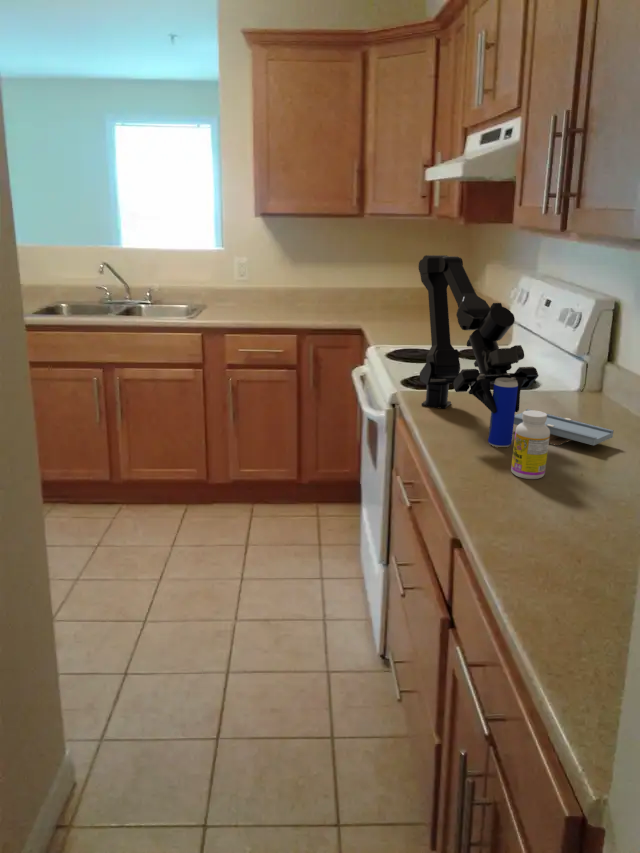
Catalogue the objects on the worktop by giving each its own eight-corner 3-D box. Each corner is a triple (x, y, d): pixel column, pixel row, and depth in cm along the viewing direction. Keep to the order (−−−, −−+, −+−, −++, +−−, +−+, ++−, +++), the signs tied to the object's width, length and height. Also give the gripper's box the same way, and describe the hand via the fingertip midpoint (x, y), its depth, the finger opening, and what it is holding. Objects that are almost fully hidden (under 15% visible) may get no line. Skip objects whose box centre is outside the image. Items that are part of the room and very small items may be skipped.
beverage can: (494, 439, 172) (500, 376, 168) (515, 444, 169) (522, 380, 165) (483, 444, 168) (490, 379, 164) (504, 450, 165) (512, 384, 161)
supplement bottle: (507, 467, 154) (514, 408, 151) (539, 469, 154) (547, 409, 150) (514, 479, 148) (521, 417, 144) (548, 480, 148) (556, 418, 144)
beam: (506, 422, 179) (507, 414, 178) (527, 415, 185) (528, 408, 184) (593, 445, 164) (594, 437, 163) (612, 437, 170) (613, 429, 169)
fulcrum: (533, 439, 173) (534, 432, 173) (557, 430, 180) (558, 423, 180) (557, 445, 169) (557, 438, 169) (580, 436, 176) (581, 429, 176)
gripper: (463, 333, 162) (483, 395, 155) (539, 331, 167) (561, 391, 161) (444, 361, 172) (462, 420, 165) (517, 358, 177) (537, 416, 170)
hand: (506, 412), depth 165 cm, fingers closed on beverage can, 5 cm apart
